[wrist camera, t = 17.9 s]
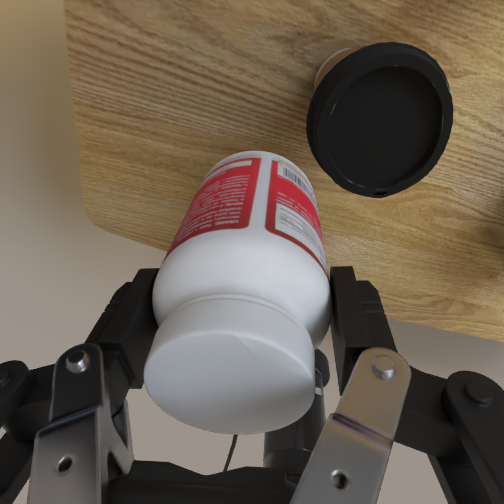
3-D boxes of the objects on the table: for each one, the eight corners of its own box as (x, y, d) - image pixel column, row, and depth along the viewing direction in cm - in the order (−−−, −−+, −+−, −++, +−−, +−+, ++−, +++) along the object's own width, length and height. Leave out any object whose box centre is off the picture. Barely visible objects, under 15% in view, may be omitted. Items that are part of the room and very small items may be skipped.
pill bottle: (194, 238, 20) (116, 427, 11) (207, 133, 16) (107, 284, 7) (297, 261, 20) (306, 463, 11) (332, 163, 17) (387, 343, 8)
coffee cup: (303, 136, 34) (311, 208, 22) (297, 38, 29) (303, 60, 17) (391, 125, 33) (452, 195, 21) (399, 21, 28) (484, 31, 16)
